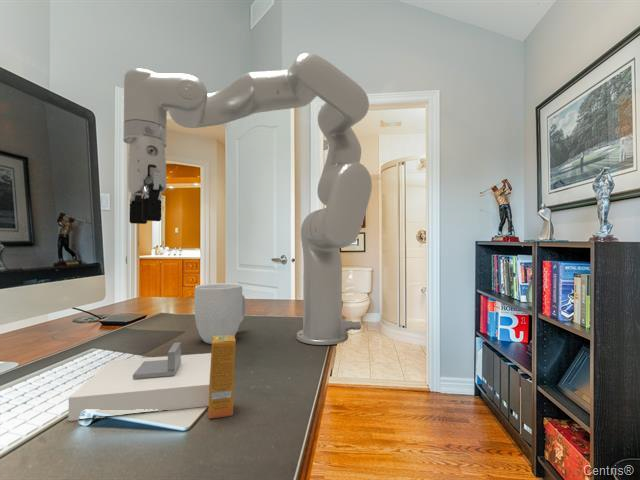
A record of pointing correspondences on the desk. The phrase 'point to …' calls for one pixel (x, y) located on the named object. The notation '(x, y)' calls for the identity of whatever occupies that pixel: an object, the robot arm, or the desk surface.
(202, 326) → the mug
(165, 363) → the grey l-shaped bracket
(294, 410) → the desk surface
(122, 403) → the socket block
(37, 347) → the desk surface
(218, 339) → the supplement box
